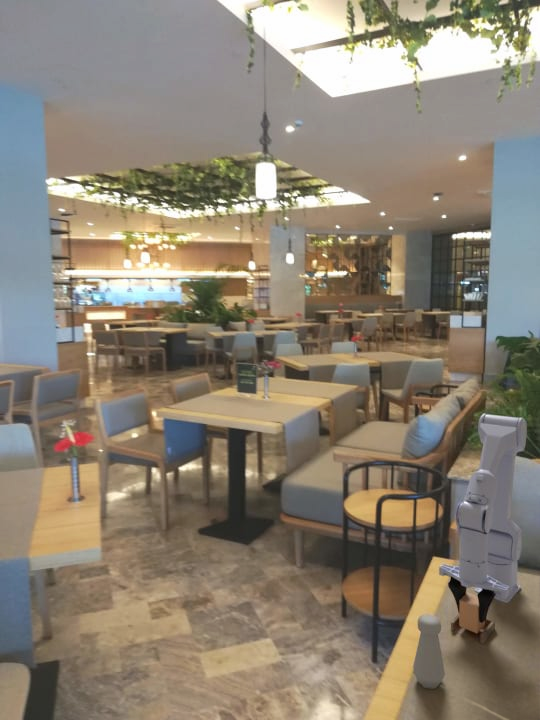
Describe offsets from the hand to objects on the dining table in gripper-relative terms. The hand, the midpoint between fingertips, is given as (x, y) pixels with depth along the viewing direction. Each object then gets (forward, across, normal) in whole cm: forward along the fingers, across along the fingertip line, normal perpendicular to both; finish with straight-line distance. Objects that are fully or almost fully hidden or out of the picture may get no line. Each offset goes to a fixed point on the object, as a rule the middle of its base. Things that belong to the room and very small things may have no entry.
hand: (472, 615), depth 115 cm
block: (+2, 0, 0) cm, 2 cm away
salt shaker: (+4, 0, -20) cm, 20 cm away
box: (+4, 0, 0) cm, 4 cm away
